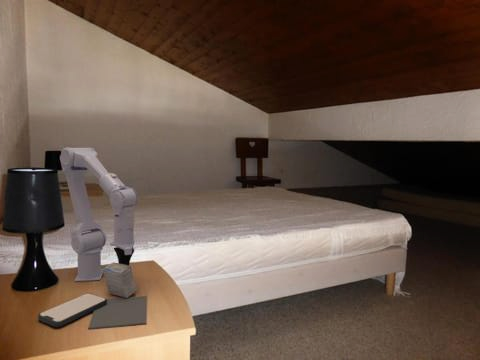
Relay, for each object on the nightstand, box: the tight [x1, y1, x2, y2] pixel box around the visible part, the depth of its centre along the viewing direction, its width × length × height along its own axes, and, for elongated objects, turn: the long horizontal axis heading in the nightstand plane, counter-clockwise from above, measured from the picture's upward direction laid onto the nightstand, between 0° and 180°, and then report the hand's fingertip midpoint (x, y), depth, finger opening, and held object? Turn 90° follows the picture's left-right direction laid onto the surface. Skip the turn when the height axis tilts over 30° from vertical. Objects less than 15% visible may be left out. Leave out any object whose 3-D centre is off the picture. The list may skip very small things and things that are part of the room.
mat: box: [87, 295, 148, 330], centre depth 98 cm, size 16×14×1 cm
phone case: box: [37, 292, 108, 328], centre depth 97 cm, size 9×2×16 cm
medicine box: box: [102, 262, 138, 298], centre depth 107 cm, size 8×4×9 cm, turn 59°
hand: (124, 270), depth 111 cm, fingers closed
